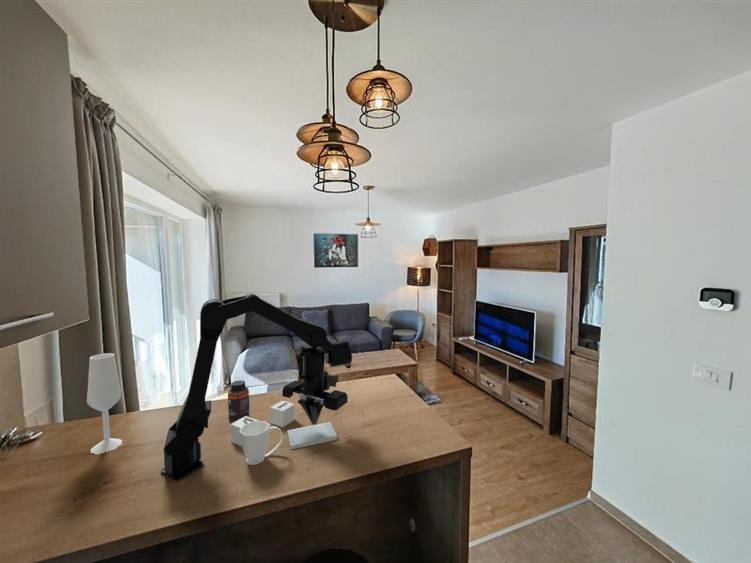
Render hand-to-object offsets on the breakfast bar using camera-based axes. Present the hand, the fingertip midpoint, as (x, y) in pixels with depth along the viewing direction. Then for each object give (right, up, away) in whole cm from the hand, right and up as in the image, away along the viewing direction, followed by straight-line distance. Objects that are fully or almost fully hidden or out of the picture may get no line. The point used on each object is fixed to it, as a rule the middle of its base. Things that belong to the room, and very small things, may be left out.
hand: (314, 424), depth 88 cm
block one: (-11, -3, +7) cm, 13 cm away
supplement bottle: (-25, -3, +9) cm, 26 cm away
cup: (-11, -4, -10) cm, 15 cm away
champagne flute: (-53, -3, -6) cm, 53 cm away
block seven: (-18, -3, -2) cm, 19 cm away
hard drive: (-1, -4, -1) cm, 4 cm away
